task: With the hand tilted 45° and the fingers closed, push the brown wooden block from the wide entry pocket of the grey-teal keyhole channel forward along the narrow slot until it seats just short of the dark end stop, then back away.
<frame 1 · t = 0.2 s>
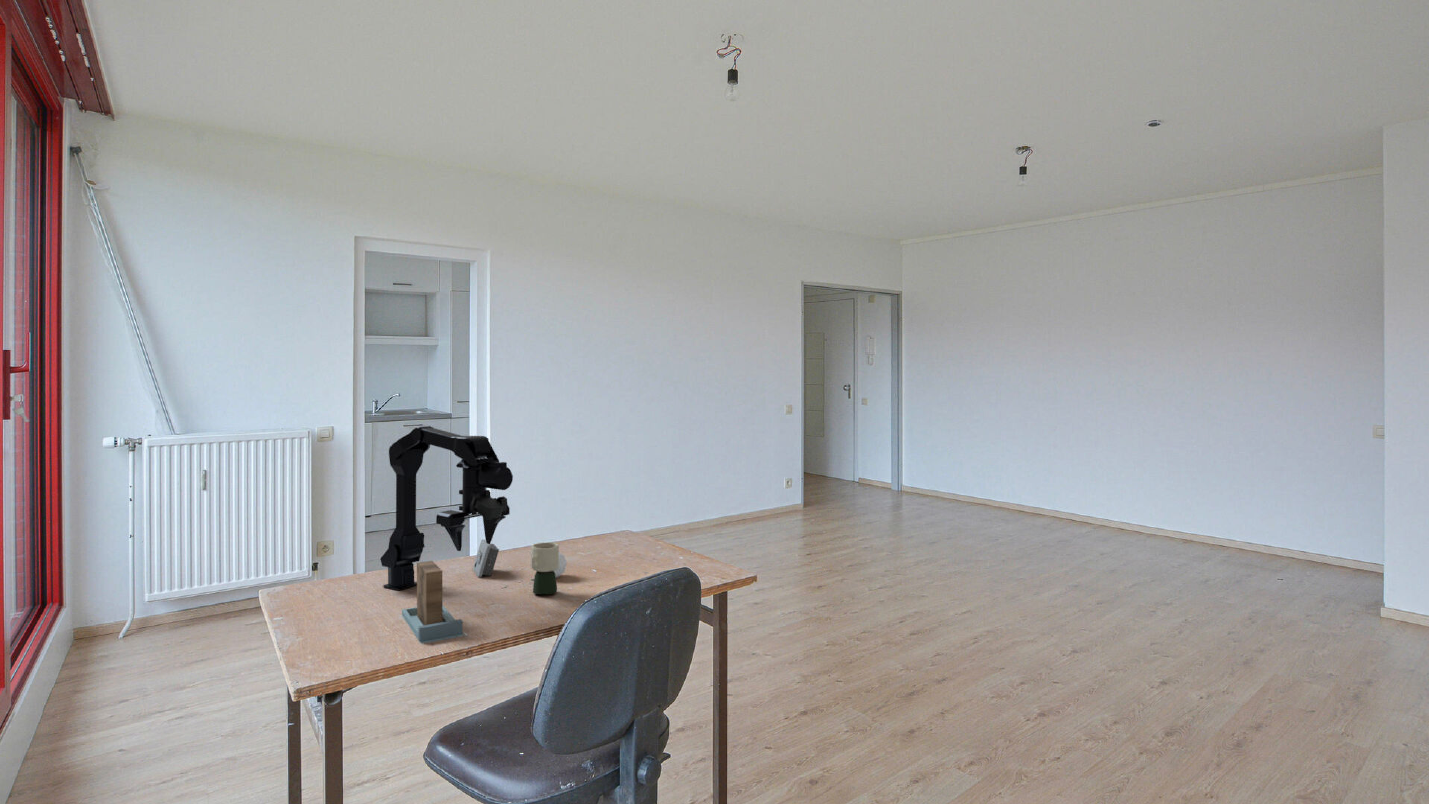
hand: (474, 547, 185), 14 cm above the table, tool pointing down, fingers open, 9 cm apart
character mug: (544, 594, 194), on the table
slot base: (431, 627, 167), on the table
geometric ball: (552, 577, 209), on the table
electrical switch: (484, 573, 212), on the table
brown wooden block: (429, 621, 169), point 1 cm above the table, touching slot base
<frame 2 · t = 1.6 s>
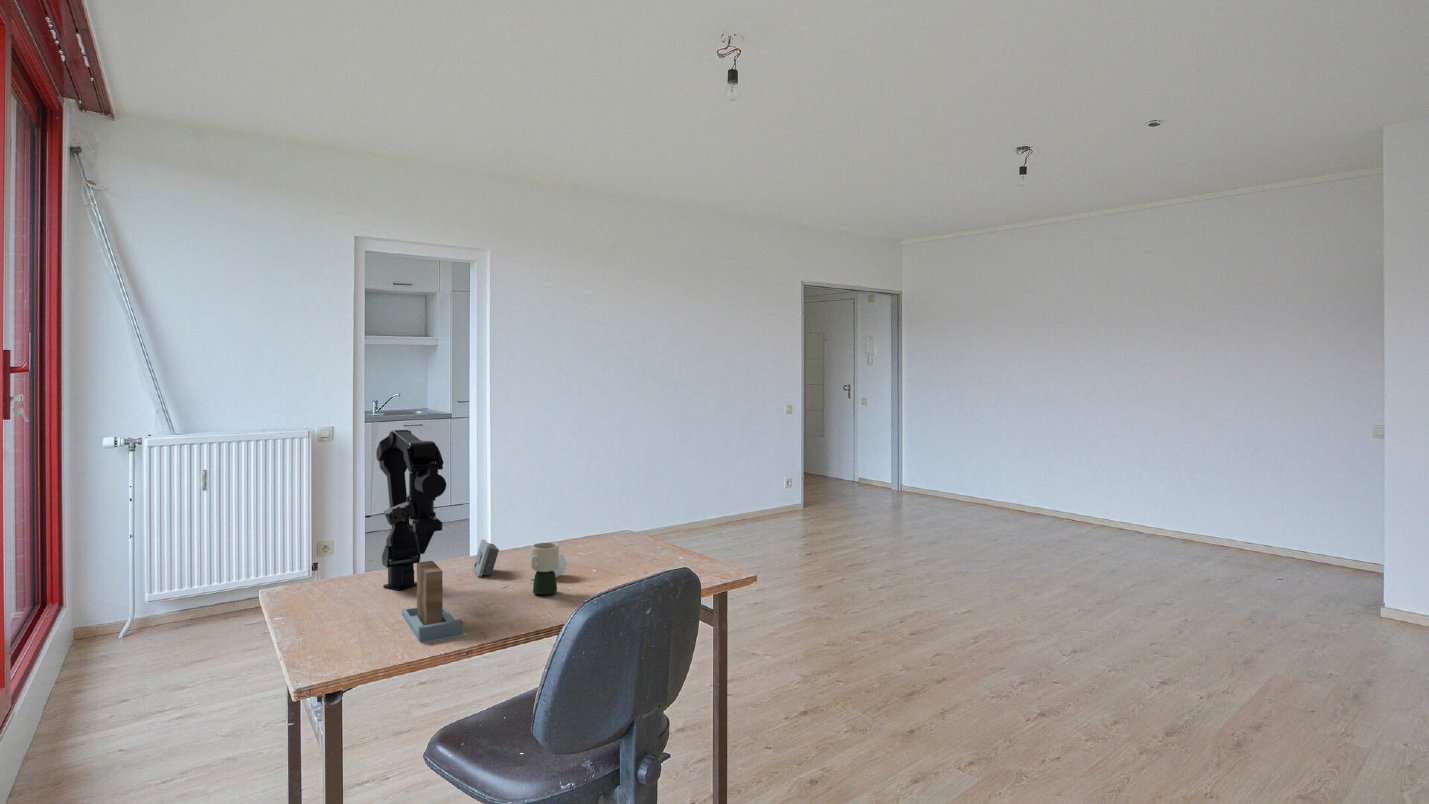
hand: (421, 553, 183), 13 cm above the table, tool pointing down, fingers closed
nothing on the table moved.
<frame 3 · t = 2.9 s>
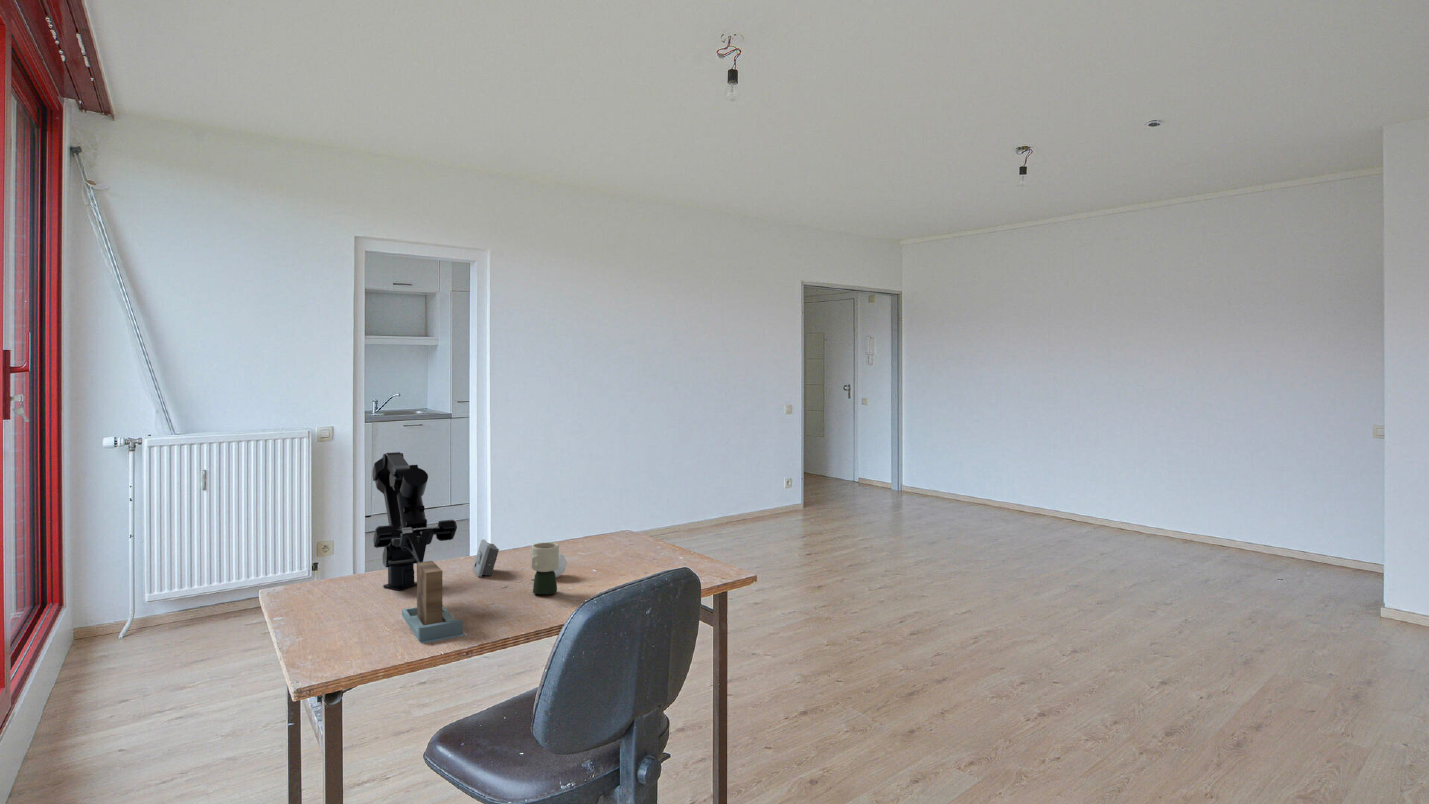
hand: (421, 562, 176), 12 cm above the table, tool tilted 45°, fingers closed
nothing on the table moved.
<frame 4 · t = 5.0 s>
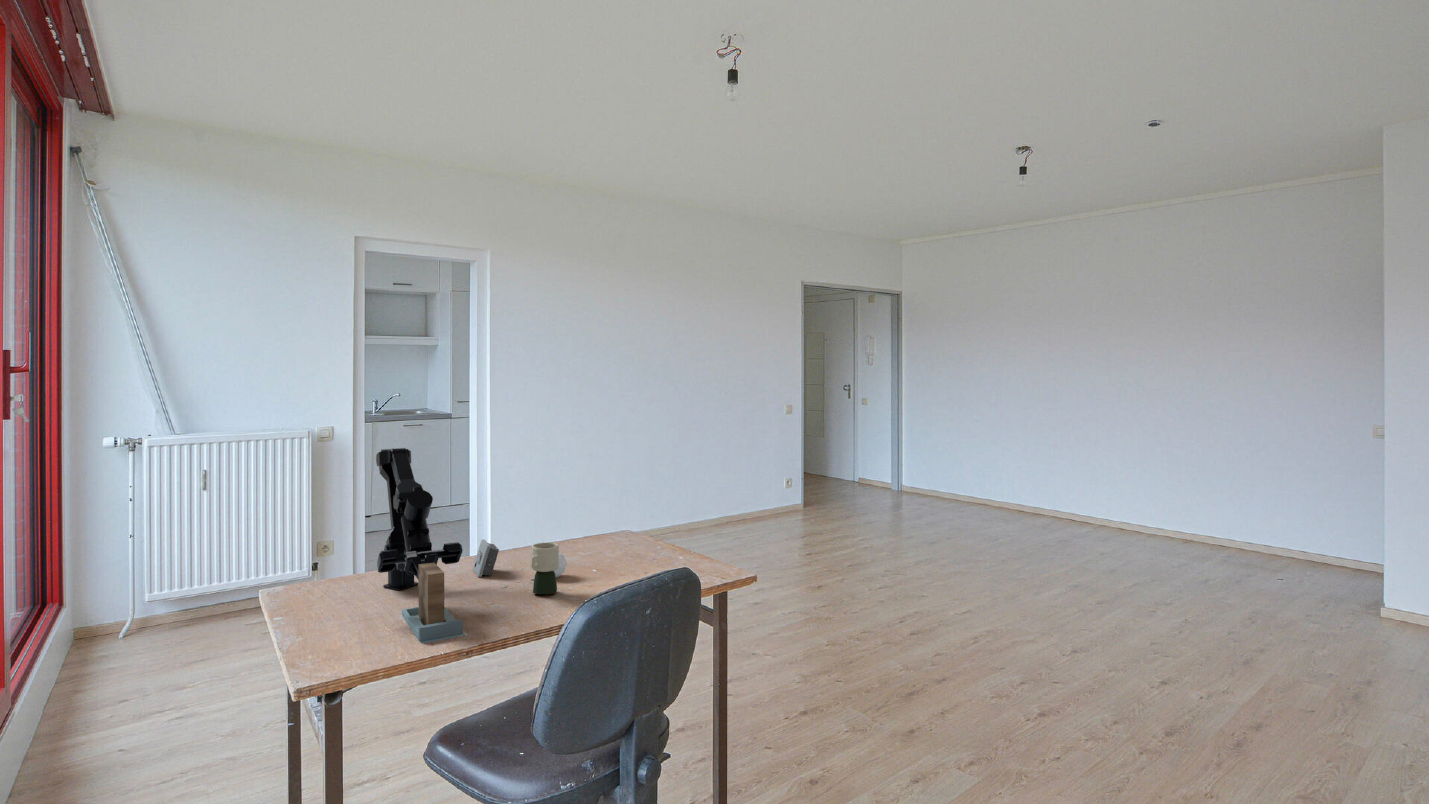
hand: (426, 587, 172), 8 cm above the table, tool tilted 45°, fingers closed
brown wooden block: (431, 624, 168), point 1 cm above the table, touching slot base
everything else where it was.
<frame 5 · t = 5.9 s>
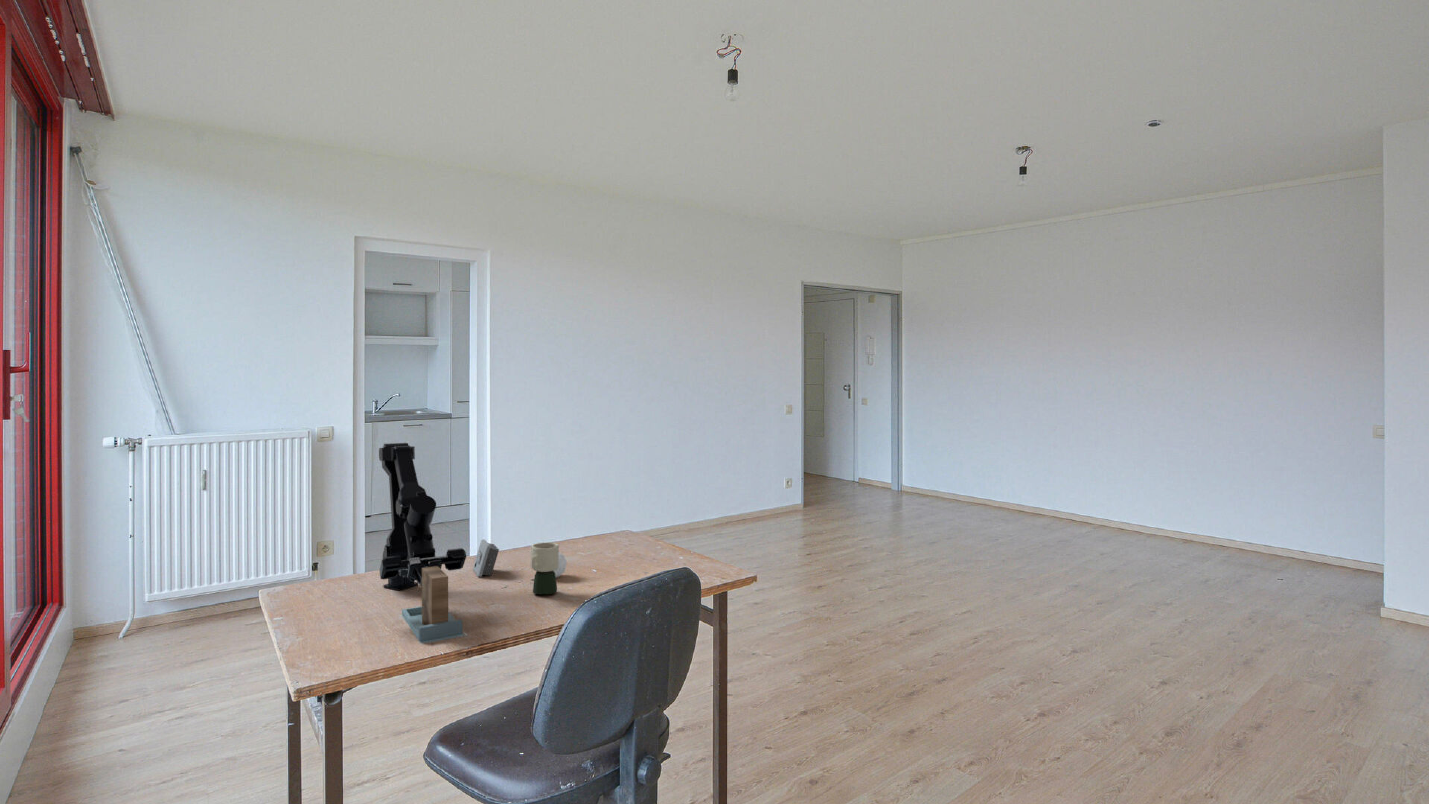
hand: (429, 594, 169), 7 cm above the table, tool tilted 45°, fingers closed
brown wooden block: (434, 628, 165), point 1 cm above the table, touching slot base
everything else where it was.
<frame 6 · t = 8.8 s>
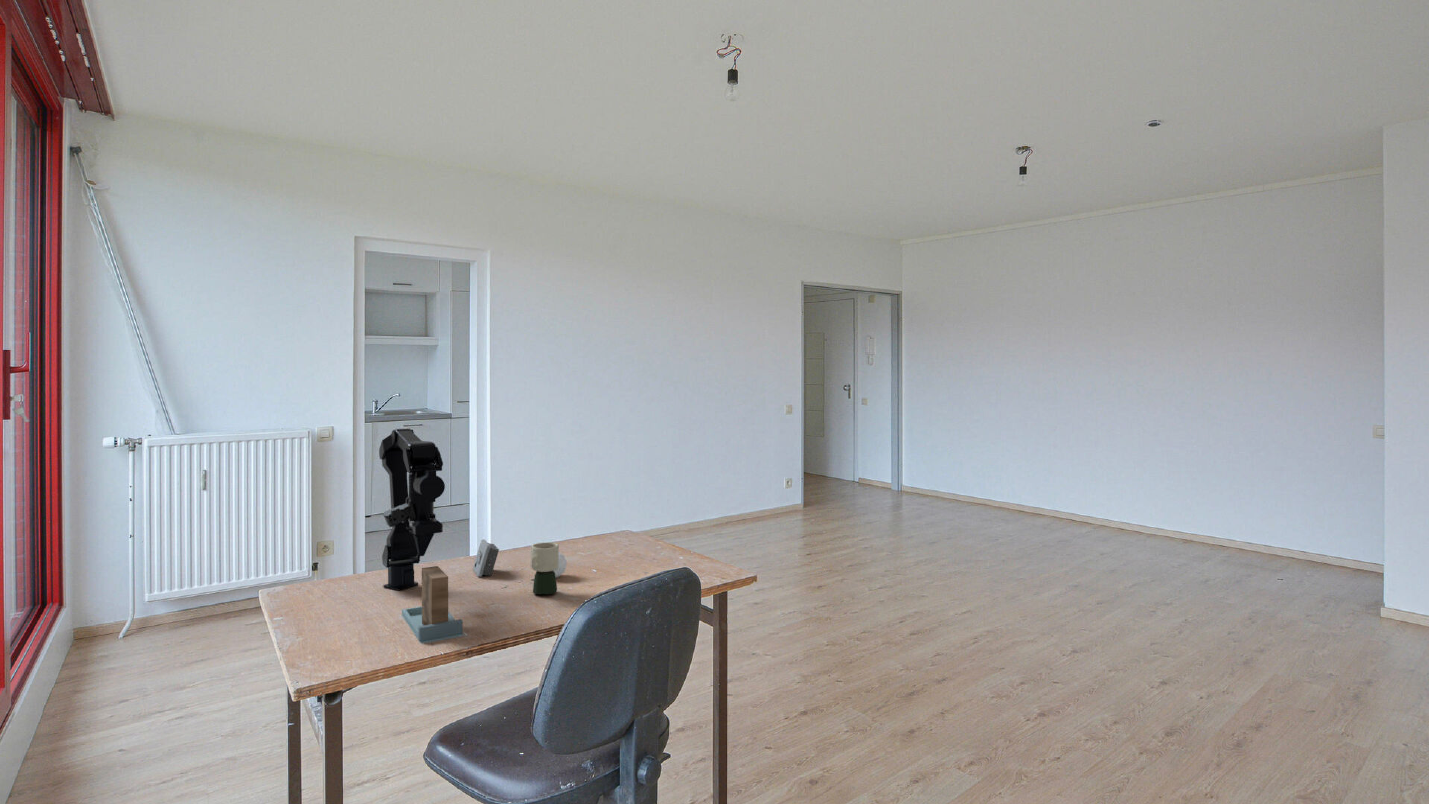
hand: (421, 555, 180), 13 cm above the table, tool pointing down, fingers closed
nothing on the table moved.
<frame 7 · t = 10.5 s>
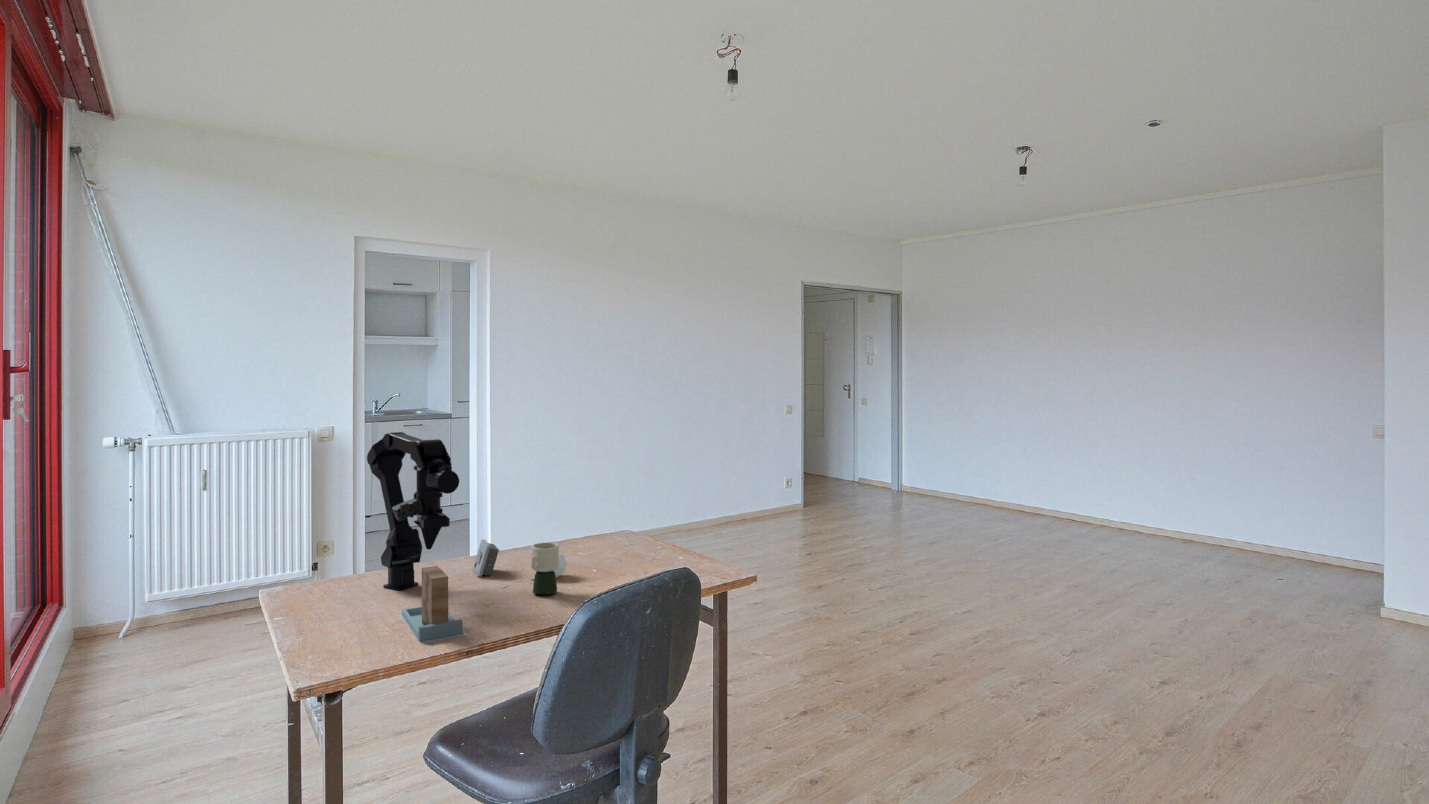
hand: (428, 549, 187), 13 cm above the table, tool pointing down, fingers closed
nothing on the table moved.
at the end: brown wooden block 0.3 cm from the target spot on the slot base, point 0.6 cm above the slot base's base; brown wooden block moved 5.3 cm from its start; brown wooden block tilted 0° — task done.
